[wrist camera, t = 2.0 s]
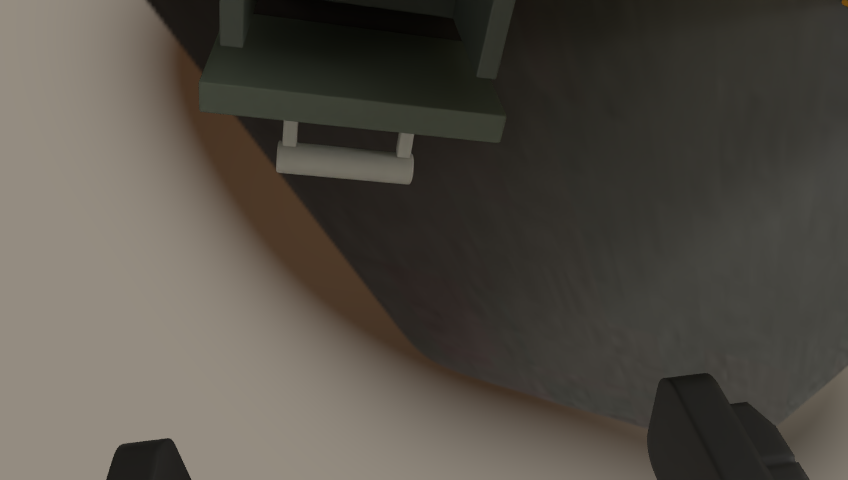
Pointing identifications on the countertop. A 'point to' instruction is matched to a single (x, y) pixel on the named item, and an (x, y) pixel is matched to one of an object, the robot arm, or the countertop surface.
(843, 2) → the packaging box
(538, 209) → the countertop surface
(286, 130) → the drawer
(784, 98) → the countertop surface
